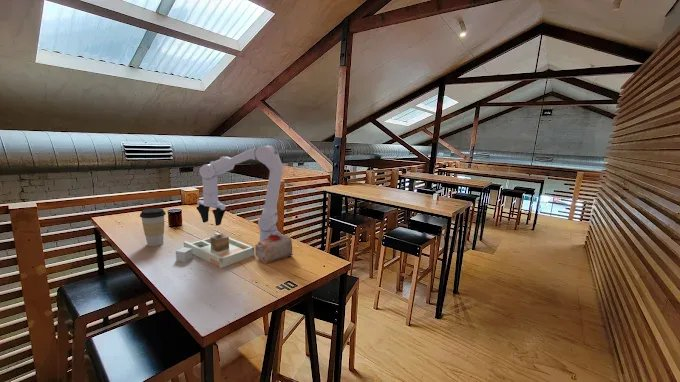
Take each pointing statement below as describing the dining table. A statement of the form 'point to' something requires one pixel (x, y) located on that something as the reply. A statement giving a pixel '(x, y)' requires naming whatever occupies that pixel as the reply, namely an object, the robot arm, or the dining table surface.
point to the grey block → (184, 254)
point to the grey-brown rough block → (274, 248)
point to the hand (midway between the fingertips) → (211, 223)
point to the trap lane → (221, 252)
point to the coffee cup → (153, 225)
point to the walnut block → (219, 242)
